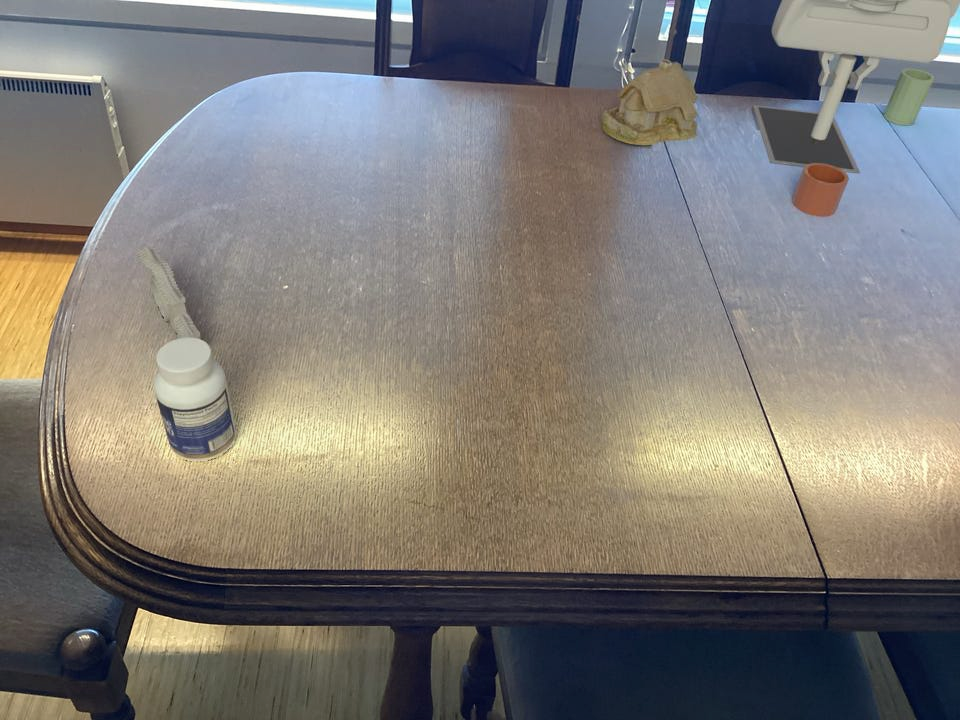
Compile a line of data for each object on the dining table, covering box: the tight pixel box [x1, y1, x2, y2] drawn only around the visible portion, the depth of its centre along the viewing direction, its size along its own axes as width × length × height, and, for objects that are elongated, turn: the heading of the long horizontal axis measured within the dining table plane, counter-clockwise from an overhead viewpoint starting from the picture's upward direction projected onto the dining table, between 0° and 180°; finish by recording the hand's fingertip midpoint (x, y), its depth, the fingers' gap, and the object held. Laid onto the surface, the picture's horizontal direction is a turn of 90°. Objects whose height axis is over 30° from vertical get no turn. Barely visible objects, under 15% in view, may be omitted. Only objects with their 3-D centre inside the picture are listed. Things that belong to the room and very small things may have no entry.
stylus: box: [811, 54, 857, 145], centre depth 108 cm, size 2×2×12 cm
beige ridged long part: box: [137, 245, 202, 340], centre depth 77 cm, size 12×2×6 cm, turn 33°
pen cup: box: [882, 67, 935, 126], centre depth 124 cm, size 5×5×7 cm
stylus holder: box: [791, 163, 850, 218], centre depth 102 cm, size 5×5×5 cm
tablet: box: [751, 104, 861, 175], centre depth 118 cm, size 12×18×1 cm, turn 173°
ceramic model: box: [600, 58, 698, 146], centre depth 114 cm, size 14×11×10 cm
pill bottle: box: [153, 337, 237, 461], centre depth 65 cm, size 5×5×10 cm
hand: (837, 86), depth 106 cm, fingers closed on stylus, 2 cm apart
